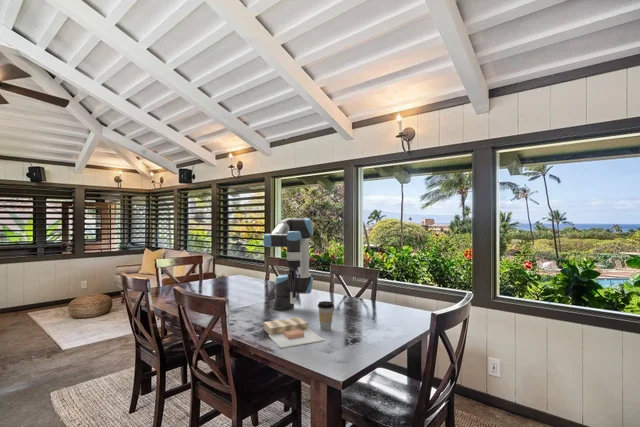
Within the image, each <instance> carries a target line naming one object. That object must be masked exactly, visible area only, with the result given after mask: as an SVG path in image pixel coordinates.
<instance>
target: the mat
mask: <svg viewBox="0 0 640 427" xmlns="http://www.w3.org/2000/svg"><path fill="white" fill-rule="evenodd" d="M301 331H303V332H304V337H298V338H292V339H288V338H286V337H285V336H284V333H279V334H273V335H269V334H268V337H269V339H271V340H272V341H273V343H274V344H275V345H277V347H278V348H280V349H285V348H291V347H296V346H302V345H308V344H313V343H319V342H325V339H324V338H323V337H321V336H320V335H318V334H317V333H316V332H314V331H313V330H311V329H309V328H308V329H305V330H301Z"/></svg>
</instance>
